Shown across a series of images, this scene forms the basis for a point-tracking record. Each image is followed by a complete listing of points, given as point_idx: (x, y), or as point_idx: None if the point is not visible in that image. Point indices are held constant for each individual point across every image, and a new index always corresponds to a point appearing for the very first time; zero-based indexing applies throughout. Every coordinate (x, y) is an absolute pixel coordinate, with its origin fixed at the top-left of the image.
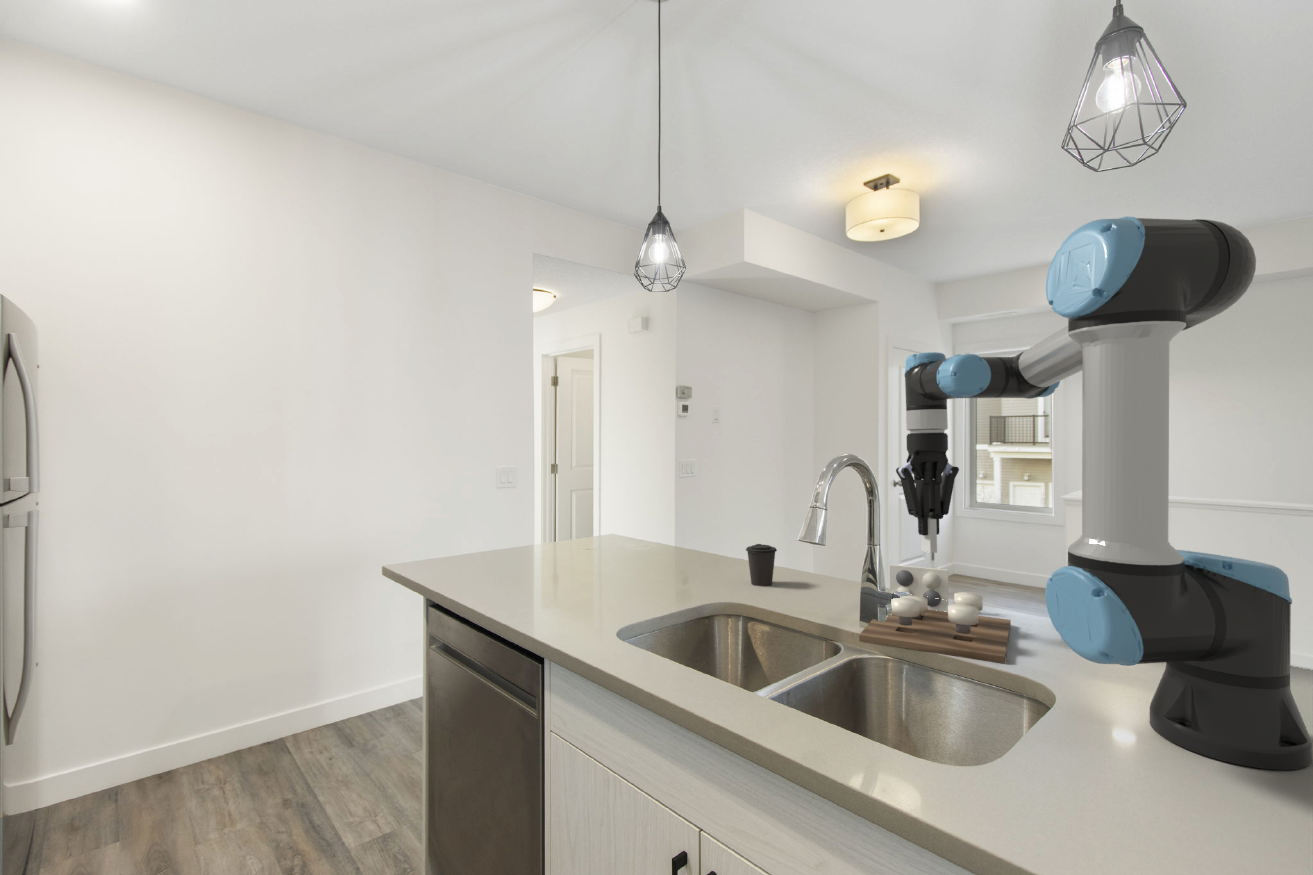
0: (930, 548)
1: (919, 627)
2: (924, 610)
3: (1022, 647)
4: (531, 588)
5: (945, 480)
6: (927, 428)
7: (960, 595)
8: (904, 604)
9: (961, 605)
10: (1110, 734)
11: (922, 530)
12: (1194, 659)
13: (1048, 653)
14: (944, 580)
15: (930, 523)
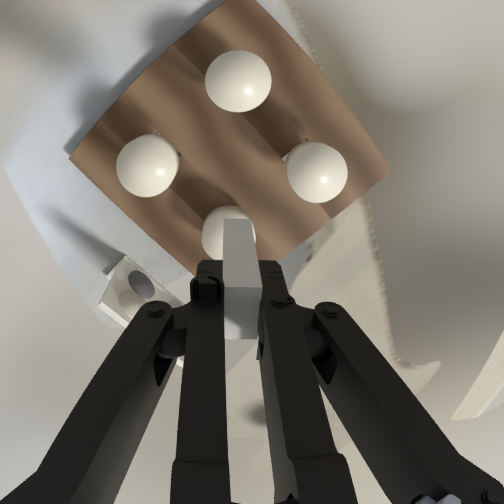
0: (251, 225)
1: (267, 163)
2: (222, 207)
3: (143, 46)
4: (487, 406)
5: (100, 483)
6: None
7: (161, 173)
8: (339, 153)
9: (226, 97)
10: None
11: (281, 273)
12: None
13: (128, 14)
14: (113, 291)
15: (257, 276)
